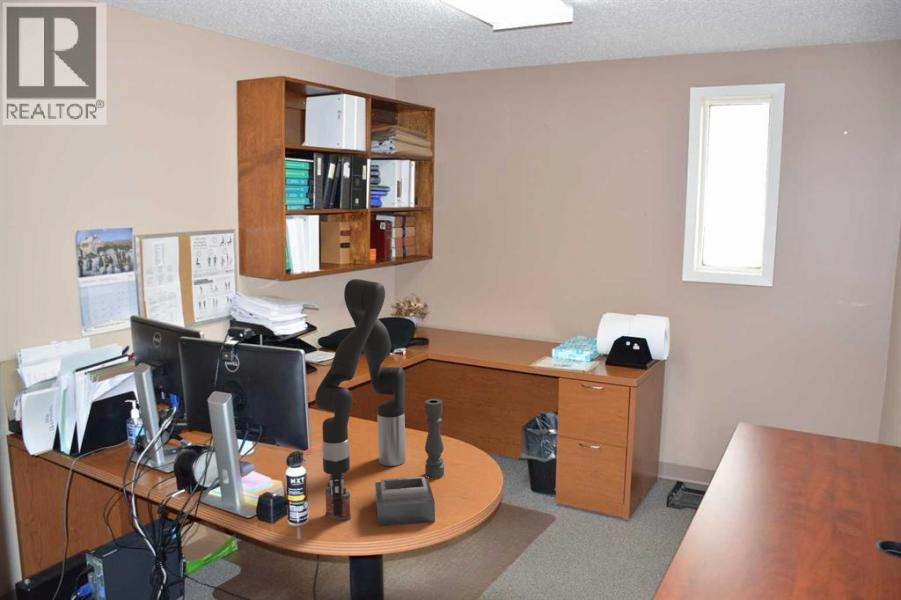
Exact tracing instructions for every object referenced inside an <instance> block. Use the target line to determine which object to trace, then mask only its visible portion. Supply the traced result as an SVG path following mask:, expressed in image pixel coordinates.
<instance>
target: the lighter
mask: <svg viewBox="0 0 901 600" xmlns="http://www.w3.org/2000/svg"><path fill="white" fill-rule="evenodd" d="M324 494H325V516H326V517H328V518H330V519H334V520H339V521H349V520H351V519H352V514H351V499H350V498H351V492H350V491H347V485H344V484H343V494H342V515H338V516H335V515H334V504H333V502H332V501H333V495H331V485H330V481H328V482H327V483H326V489H325V490H324ZM335 499H340V498H335Z"/></svg>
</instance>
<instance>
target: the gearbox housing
mask: <svg viewBox="0 0 901 600" xmlns="http://www.w3.org/2000/svg"><path fill="white" fill-rule="evenodd" d="M374 487H375V489H374V490H375V492H374V493H375V507H376V508H375V509H376V518H377V527H386V526H387V527H389V526H399V525H400V526H401V525H410V524H426V523H434V522H436V507H435V506H436V503H435V502H436V501H435V499H434V495H433V491H432V488H431V485H430V481H429V478H426V476H416V477H415V476H414V477H413V476H412V477H400V478H399V477H398V478H385V479H384V478H383V479H380V481H377V482H375V484H374Z"/></svg>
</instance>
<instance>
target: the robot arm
mask: <svg viewBox="0 0 901 600" xmlns="http://www.w3.org/2000/svg"><path fill="white" fill-rule="evenodd" d="M343 296H344V303H345V306H346V308H347V311H348V313H349V315H350V318H351V319H352V321H353V324H354V326H355V328H353V330H351V331H350V332H349V334H347V335H346V336H345V338H342V341H340V343H339V344H338V346H337V348H336V350H335V353H334V356H333V360H332V361H331V366H330V369H329V370H328V371H327V373H326V375H324V378H323V379H322V381H321V383H320V384H319V386H318V387H317V389H316V392H315V396H314V398H315V399H314V400H315V401H314V402H315V405H316V406H317V408H318V409H320V410H324V411H327V412H328V411H329V412H333V414H334V415H333V416H332V417H328V418H327V417H326V418H325V419H324V420H323V422H322V429H321V430H322V449H321V450H322V452H321V453H322V469H323V472H324V473H325V474H327V475H329V482H330V485H331V495H333V501H332V502H333V504H334V515H335V516H338V515H342V494H343V485H344V483H345V473H348V472H349V470H350V468H351V464H350V461H351V459H350V443H349V431H348V425H349V420H350V414H351V411H352V409H353V408H352V407H353V400H354V398H353V394H352V393H351V391H350V390H349V388H346V387H344V386H343V387H342V386H340V385H341V384H342V383H343V382H349V381H351V380H352V379H354V377H355V374H356V371H357V367H358V365H359V361H360V359H361V354H362V352H363V354H364V356H365V357H364V358H365V360H366V363H367V367H368V371H369V377H370V383H371V387H372V390H373V392H375V394H378V395H393V398H391V399H389V400H385V401H382V402H380V403H379V404H378V405H377V408H376V411H377V412H376V413H377V414H376V415H377V437H378V438H377V445H378V447H377V448H378V449H377V450H378V463H379V464H380V465H382V466H387V467H395V466H400V465H403V464H404V463H405V462H406V427H405V425H406V423H405V422H406V420H405V419H406V418H405V388H406V386H405V385H406V376H405V371H404V368H402V367H400V366H399V367H397V366H396V367H395V366H383V365H382V363H383V362H384V361H385V360H386V359H387V357H388V356H389V354H390V352H391V349H392V342H391V338H390V334H389V332H388V329H387V327H386V326H385V324H384V323H383V322H381V320H380V319H379V318H378V317H379V315H380V312H381V311H382V308H383V306H384V302H385V300H386V299H385V298H386V290H385V285H383V284H382V283H380V282H377V281H372V280H364V279H359V278H356V279H355V278H353V279H350V280H349V281H348V282H347V283H346V284H345V287H344V292H343ZM335 498H340V499H335Z"/></svg>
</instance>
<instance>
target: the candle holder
mask: <svg viewBox="0 0 901 600" xmlns="http://www.w3.org/2000/svg"><path fill="white" fill-rule="evenodd" d="M424 412H425V415H426V417H427V418H426V419H425V423H426V424H427V435H426V436H427V437H426V441H425V446H424V451H425V453H426V455H427V459H426V460H425V464H424V465H425V467H424V471H425V472H424V473H425V475H426V476H427V477H429V478H428V479H430V478H438V479H441V478H440V477H442V476H443V475H444V476H445V464H444V459H442V454H443V452H444V448H445V447H444V443H443V440H442V436H441V423H442V422H443V418H441V416H442V413H443V400H441V399H438V398H430V399H426V400H424ZM425 475H424V476H425ZM426 476H425V477H426ZM444 476H443V477H444ZM427 477H426V478H427ZM443 477H442V478H443Z"/></svg>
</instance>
